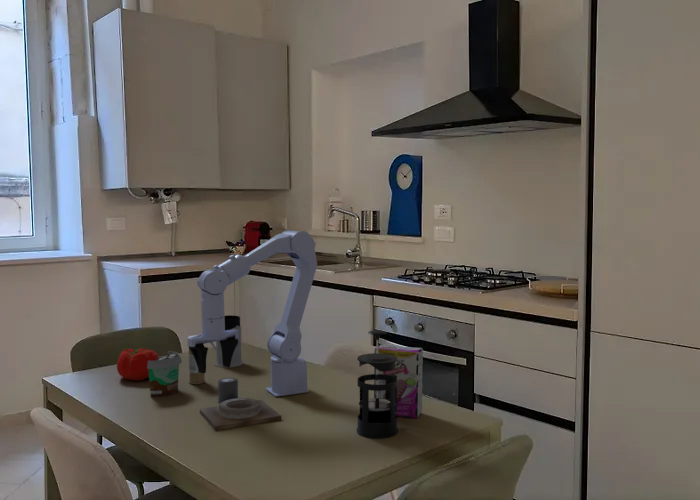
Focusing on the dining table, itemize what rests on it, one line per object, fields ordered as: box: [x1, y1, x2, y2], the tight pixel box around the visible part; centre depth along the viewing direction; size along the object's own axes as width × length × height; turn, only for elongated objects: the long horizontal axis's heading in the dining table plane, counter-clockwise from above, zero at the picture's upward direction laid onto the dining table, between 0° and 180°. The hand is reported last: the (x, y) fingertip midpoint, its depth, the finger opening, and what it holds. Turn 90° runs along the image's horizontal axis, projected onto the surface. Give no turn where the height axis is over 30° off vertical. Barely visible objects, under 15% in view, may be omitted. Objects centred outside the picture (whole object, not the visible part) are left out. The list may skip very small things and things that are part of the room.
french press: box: [356, 329, 399, 439], centre depth 148 cm, size 12×9×23 cm
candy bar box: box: [373, 344, 424, 419], centre depth 160 cm, size 11×5×16 cm, turn 71°
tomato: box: [116, 347, 160, 382], centre depth 194 cm, size 13×12×8 cm
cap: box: [217, 377, 239, 404], centre depth 171 cm, size 5×5×6 cm
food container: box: [147, 350, 183, 398], centre depth 179 cm, size 12×6×10 cm, turn 168°
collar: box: [199, 397, 282, 431], centre depth 159 cm, size 16×14×3 cm
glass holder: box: [209, 314, 244, 368], centre depth 211 cm, size 9×14×15 cm, turn 57°
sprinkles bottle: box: [187, 334, 206, 385], centre depth 188 cm, size 5×5×14 cm
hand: (214, 369), depth 169 cm, fingers open, 7 cm apart
